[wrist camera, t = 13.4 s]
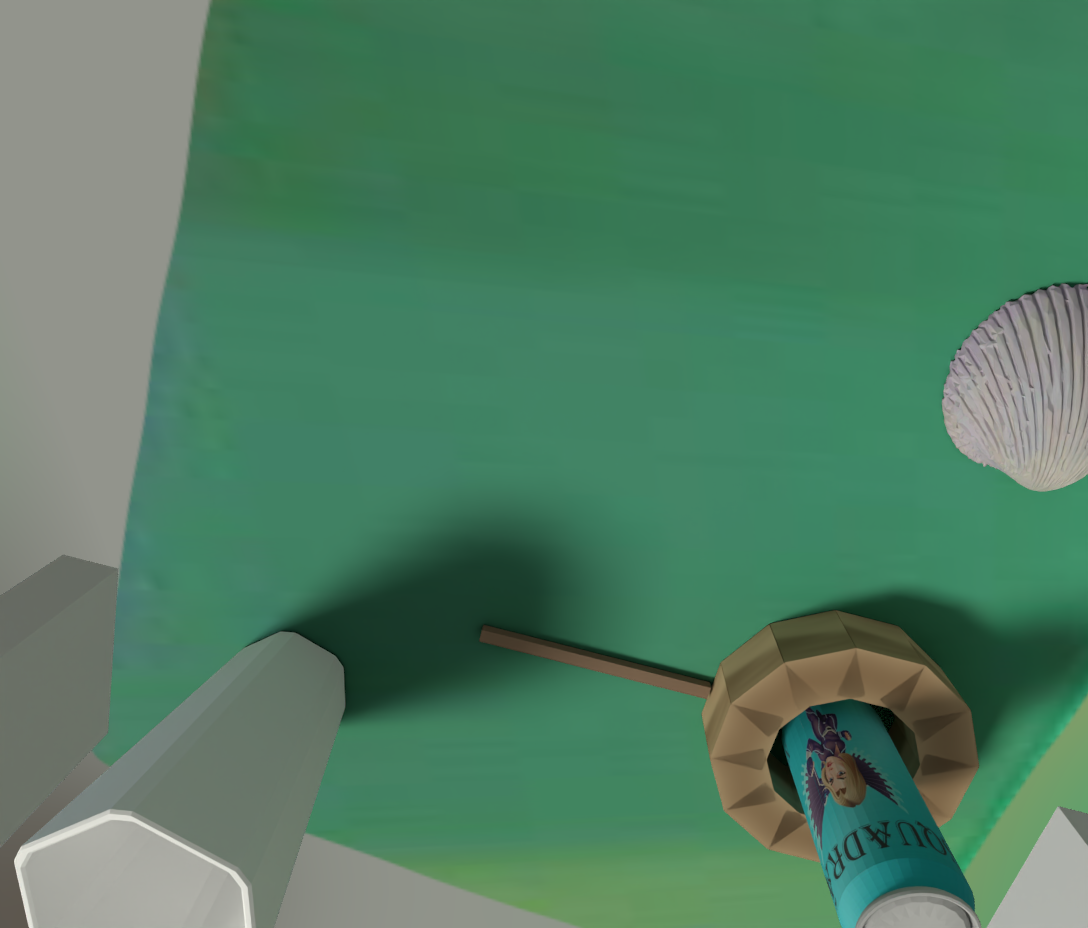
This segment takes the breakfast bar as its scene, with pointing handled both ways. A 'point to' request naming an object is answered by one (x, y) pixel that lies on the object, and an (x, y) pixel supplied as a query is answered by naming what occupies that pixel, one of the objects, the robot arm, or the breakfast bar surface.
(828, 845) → the beverage can
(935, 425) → the breakfast bar surface
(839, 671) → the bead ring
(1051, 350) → the seashell
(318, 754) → the cup
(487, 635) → the brown stick
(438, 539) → the breakfast bar surface
